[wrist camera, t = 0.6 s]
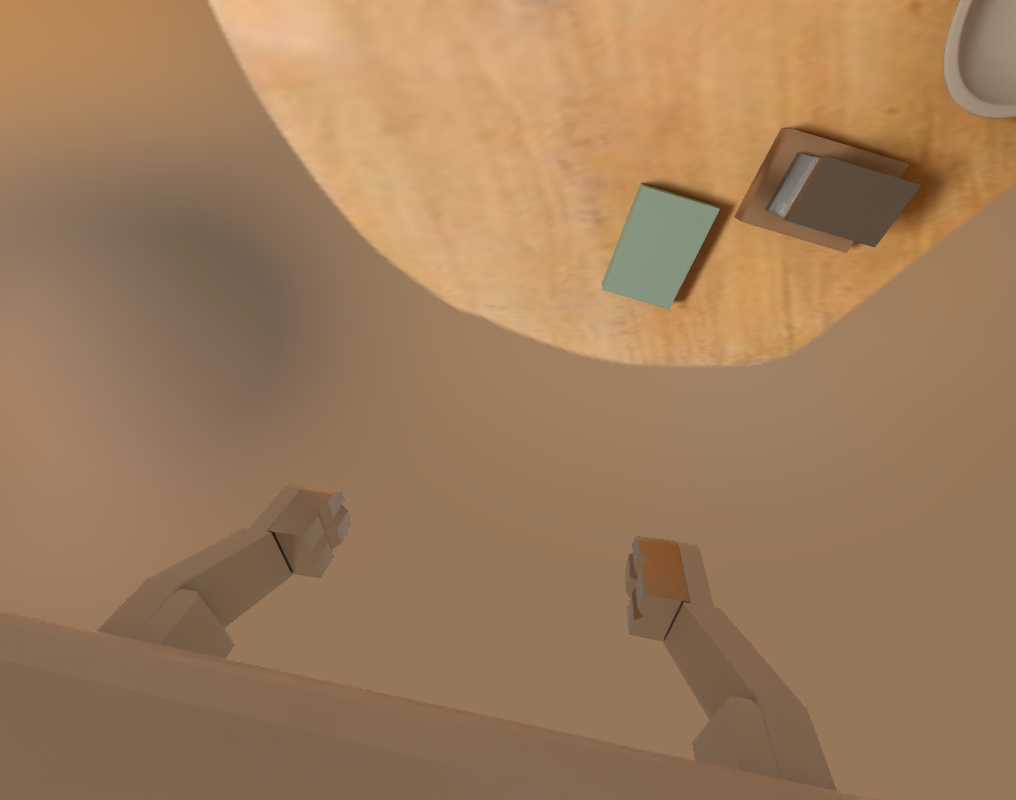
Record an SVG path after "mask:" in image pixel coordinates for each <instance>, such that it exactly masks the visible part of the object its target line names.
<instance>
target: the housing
mask: <svg viewBox="0 0 1016 800" xmlns="http://www.w3.org/2000/svg"><path fill="white" fill-rule="evenodd" d="M921 186H922V185H920V184H917V183H913V182H910V181H907V180H903V179H900V178H897V177H893V176H890V175H886V174H883V173H880V172H876V171H873V170H870V169H866V168H863V167H860V166H856V165H853V164H850V163H846V162H843V161H840V160H836V159H833V158H830V157H826V156H821V157H820V158H818V157H813V156H809V155H806V154H803V153H797V154H796V155H795V157H794V159H793V161H792V162H791V164H790V166H789V168H788V170H787V171H786V173H785V175H784V177H783V178H782V180H781V182H780V184H779V185H778V187H777V189H776V191H775V192H774V194H773V196H772V198H771V200H770V201H769V203H768V205H767V207H766V208H765V211H767V212H771V213H774V214H777V215H780V216H782V217H784V220H786V221H788V222H791V223H795V224H798V225H801V226H805V227H808V228H812V229H815V230H818V231H822V232H825V233H828V234H832V235H835V236H838V237H842V238H845V239H848V240H852V241H855V242H858V243H862V244H865V245H868V246H872V247H876V245H877V244H878V243H879V241H880V240H881V239H882V237H883V236H884V235H885V233H886V232H887V231H888V229H889V228H890V227H891V225H892V224H893V223H894V221H895V220H896V219H897V217H898V216H899V215H900V213H901V212H902V211H903V209H904V208H905V207H906V205H907V204H908V203H909V201H910V200H911V199H912V197H913V196H914V195H915V193H916V192H917V191H918V189H919V188H920V187H921Z"/></svg>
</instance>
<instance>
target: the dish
mask: <svg viewBox="0 0 1016 800" xmlns="http://www.w3.org/2000/svg"><path fill="white" fill-rule="evenodd" d="M943 73H944V80H945V84H946V88H947V90H948V92H949V95H950V96H951V98H952V99H953V101H954V102H955V103H956V104H957V105H958V106H959V107H960V108H962V109H963V110H965V111H966V112H968V113H970V114H973V115H975V116H979V117H984V118H1010V117H1016V0H959V3H958V5H957V8H956V10H955V13H954V15H953V18H952V21H951V24H950V27H949V31H948V35H947V39H946V43H945V49H944V56H943Z"/></svg>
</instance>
